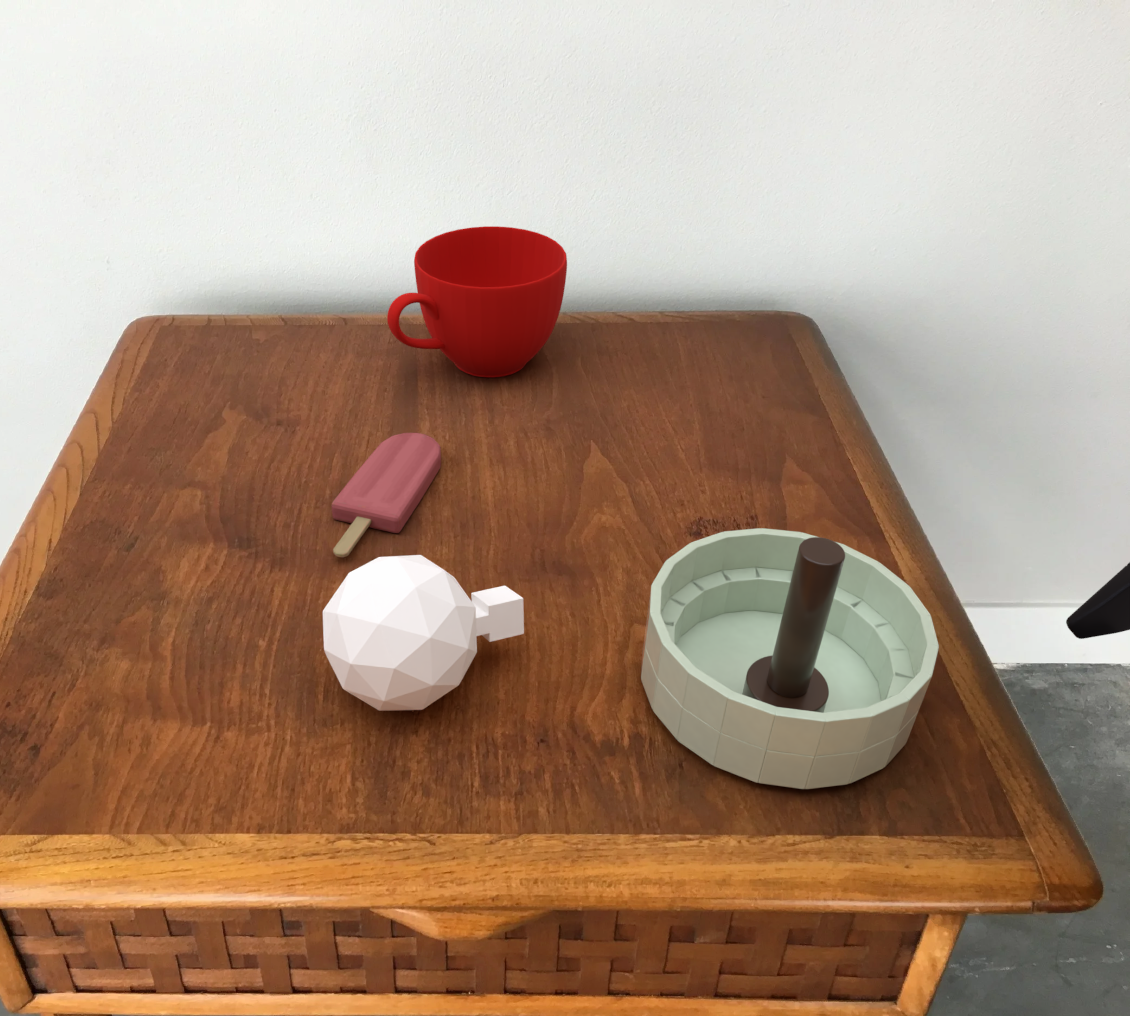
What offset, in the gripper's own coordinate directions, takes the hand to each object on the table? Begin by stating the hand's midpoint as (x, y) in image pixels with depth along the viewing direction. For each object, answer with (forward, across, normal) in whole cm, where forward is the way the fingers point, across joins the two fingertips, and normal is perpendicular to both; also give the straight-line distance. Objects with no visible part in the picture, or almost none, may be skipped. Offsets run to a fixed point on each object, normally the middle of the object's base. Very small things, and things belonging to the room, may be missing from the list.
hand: (1103, 707), depth 42 cm
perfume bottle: (+31, -8, -13) cm, 34 cm away
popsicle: (+36, -25, -18) cm, 47 cm away
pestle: (+16, -8, +1) cm, 18 cm away
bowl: (+16, -11, +1) cm, 20 cm away
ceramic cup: (+34, -46, -16) cm, 59 cm away
